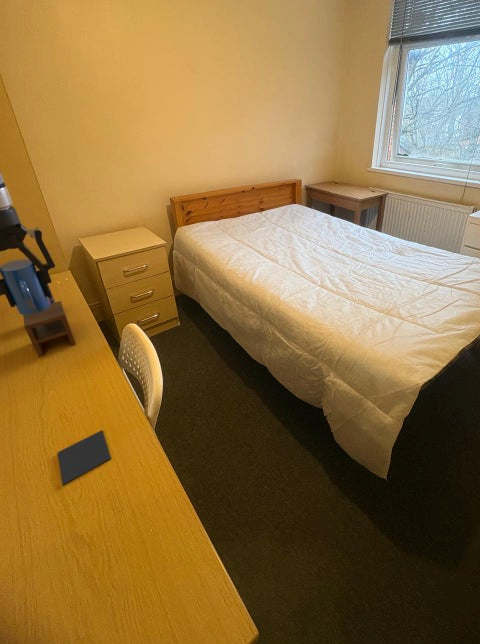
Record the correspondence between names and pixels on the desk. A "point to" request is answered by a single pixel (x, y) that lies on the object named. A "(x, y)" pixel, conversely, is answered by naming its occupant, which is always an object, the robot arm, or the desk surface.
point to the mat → (83, 457)
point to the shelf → (47, 326)
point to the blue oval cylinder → (25, 286)
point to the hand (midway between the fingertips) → (31, 299)
